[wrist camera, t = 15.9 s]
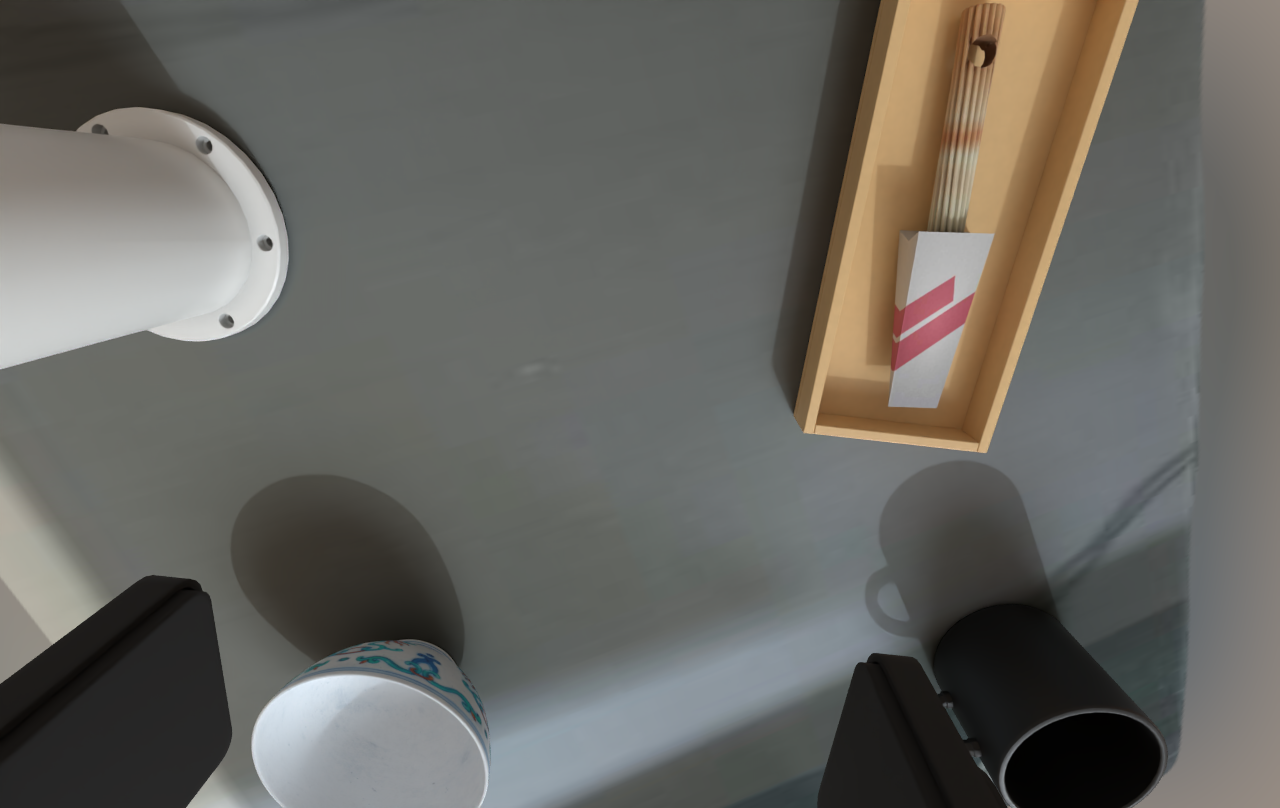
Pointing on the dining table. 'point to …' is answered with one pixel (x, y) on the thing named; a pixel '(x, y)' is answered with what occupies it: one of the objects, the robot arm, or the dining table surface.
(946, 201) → the folding fan
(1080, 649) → the mug
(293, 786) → the chinaware
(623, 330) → the dining table surface
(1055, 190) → the brush tray
